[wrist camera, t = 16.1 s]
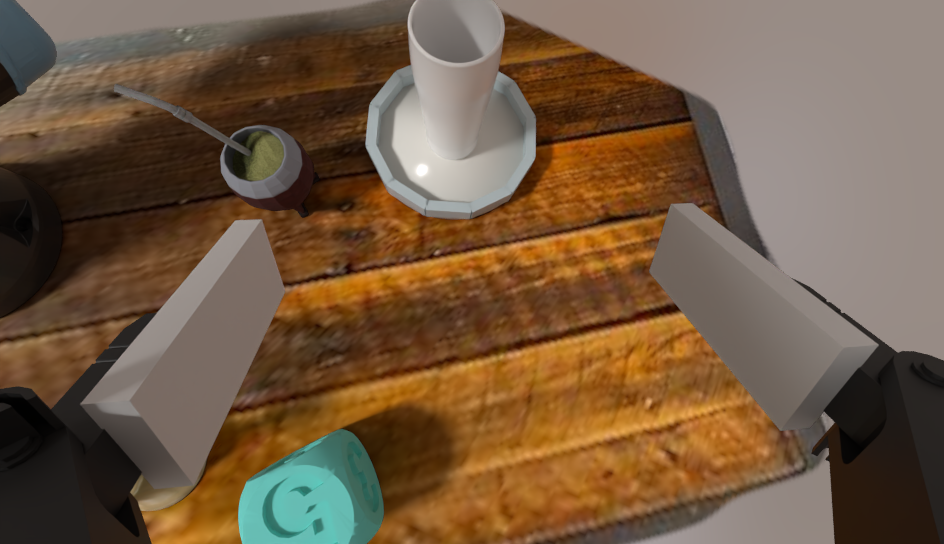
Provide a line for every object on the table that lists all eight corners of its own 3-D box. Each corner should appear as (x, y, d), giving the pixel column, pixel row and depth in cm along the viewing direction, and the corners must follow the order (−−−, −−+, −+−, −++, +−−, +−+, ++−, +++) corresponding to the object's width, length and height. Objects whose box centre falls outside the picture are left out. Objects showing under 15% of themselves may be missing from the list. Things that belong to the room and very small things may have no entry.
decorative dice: (305, 550, 34) (265, 611, 27) (270, 463, 36) (222, 497, 28) (390, 503, 36) (375, 547, 28) (354, 420, 37) (330, 440, 29)
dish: (338, 162, 41) (332, 151, 39) (429, 46, 44) (428, 28, 42) (476, 250, 40) (479, 244, 38) (558, 125, 44) (565, 112, 41)
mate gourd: (339, 202, 40) (279, 120, 26) (267, 241, 39) (161, 179, 24) (303, 144, 41) (225, 32, 26) (232, 180, 40) (109, 84, 25)
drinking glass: (444, 98, 42) (445, -37, 28) (496, 133, 42) (525, 16, 27) (406, 144, 41) (385, 29, 26) (459, 181, 40) (468, 85, 26)
